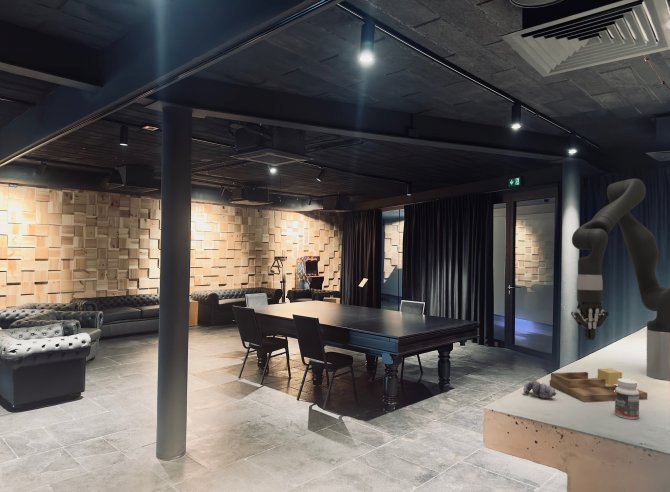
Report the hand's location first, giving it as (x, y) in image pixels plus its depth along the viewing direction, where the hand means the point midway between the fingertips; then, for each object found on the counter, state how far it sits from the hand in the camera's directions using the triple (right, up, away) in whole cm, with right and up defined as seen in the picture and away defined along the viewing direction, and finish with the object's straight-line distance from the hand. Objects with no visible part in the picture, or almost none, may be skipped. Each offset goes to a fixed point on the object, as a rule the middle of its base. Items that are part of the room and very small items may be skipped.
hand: (589, 339), depth 153 cm
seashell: (-21, -17, -9) cm, 28 cm away
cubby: (-5, -15, -1) cm, 15 cm away
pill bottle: (-3, -17, -25) cm, 30 cm away
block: (+7, -15, +1) cm, 17 cm away
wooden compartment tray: (0, -17, -3) cm, 17 cm away
